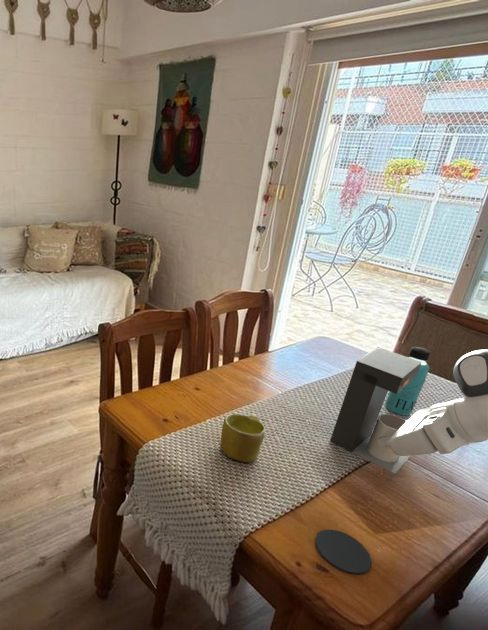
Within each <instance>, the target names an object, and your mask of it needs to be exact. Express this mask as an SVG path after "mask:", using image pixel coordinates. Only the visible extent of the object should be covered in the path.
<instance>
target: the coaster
mask: <svg viewBox="0 0 488 630" xmlns="http://www.w3.org/2000/svg"><path fill="white" fill-rule="evenodd" d="M314 541H315V542H314V544H315V547H316V550H317V551H318V553H319V554H320V556H321V557H322V558H323V559H324V561H326V562H327V563H328V564H329V565H330V566H331V567H333V568H334V569H337V570H339V571H341V572H343V573H347V574H350V575H363V574H366V573H368V571H370V569H371V566H372V558H371V556H370V553H369V551H368V549H367V548H366V547H365V546H364V545H363V544H362V543H361V542H360V541H359V540H357V538H354V537H353V536H352V535H350V534H348V533H345V532H343V531H340V530H337V529H330V528H329V529H328V528H327V529H323V530H321V531H319V532H318V533H317V534H316V535H315V540H314Z"/></svg>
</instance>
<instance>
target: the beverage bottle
mask: <svg viewBox="0 0 488 630" xmlns="http://www.w3.org/2000/svg"><path fill="white" fill-rule="evenodd" d="M430 354H431V352H430V351H429V350H428V349H427V348H424V347H420V346H412V347H411V348H410V351H409V352H408V355H409V357H408V358H411V359H414V360H417V361H420V362H422V363H421V366H420V368H419V371H418V373H417V376H416V377H415V378H414V379H413V380H412V381H411V382H410V383H409V384H407V385H406V386H405V387H404V388H403V389H402V390H401V391H399V392H398V393H397V394H395V393H393V392H390V391H388V393H387V396H386V399H385V400H384V402H385V403H384V406H385V408H386V409H387V410H389V411H391V412H392V413H394V414H397V415H401V416H409V415H411V413H413V411H414V409H415V406H416V405H417V402H418V398H419V397H420V393H421V391H422V389H423V387H424V385H425V383H426V380H427V377H428V373H429V371H430V369H431V368H430V366H429V363H427V362H426V361H428V360H429V358H430Z"/></svg>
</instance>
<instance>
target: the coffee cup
mask: <svg viewBox="0 0 488 630" xmlns="http://www.w3.org/2000/svg"><path fill="white" fill-rule="evenodd" d="M405 420H406V419H404V418H402V417H399V416H397V415H394V414H391V413H382V414H381V413H380V414H379V416H378V418H377V421H376V423H375V426H374V429H373V431H372V434H371V437H370V440H369V443H368V445H367V450H368V452H369V453H370V454H371V455H373V456H374V457H376V458H378V459H380V460H383V461H386V462H396V461H397V460H398V459H399V457H400V456H398V455H396V454H395V453H394V452H393V450H392V449H391V447H390V446H383V447H382V446H380V445H379V444H378V442H377V439H378V438H379V437H383V436H386V437H391V436H392V435H393V434H394V433H395V432H396V431H397V430H398V429H399V428H400V427H401V426H402V425H403V424H404V423H405V422H406V421H405Z"/></svg>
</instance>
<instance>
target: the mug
mask: <svg viewBox="0 0 488 630" xmlns="http://www.w3.org/2000/svg"><path fill="white" fill-rule="evenodd" d="M221 427H222V428H221V433H220V435H221V436H220V448H221V451H222V453H224V455H226V456H227V457H228V458H230V459H232V460H235V461H238V462H242V463H243V462H244V463H253V462H254V461H256V460H257V459H258V458H259V455H260V451H261V447H262V444H263V441H264V439H265V436H266V427H265V425H264V424H263V422H261V421H260V417H259V416H258V414H257V415H256V414H254V413H252V414H250V415H246V414H245V415H244V414H240V413H232V414H228V415H225V417H224V419H223V423H222V426H221Z"/></svg>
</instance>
